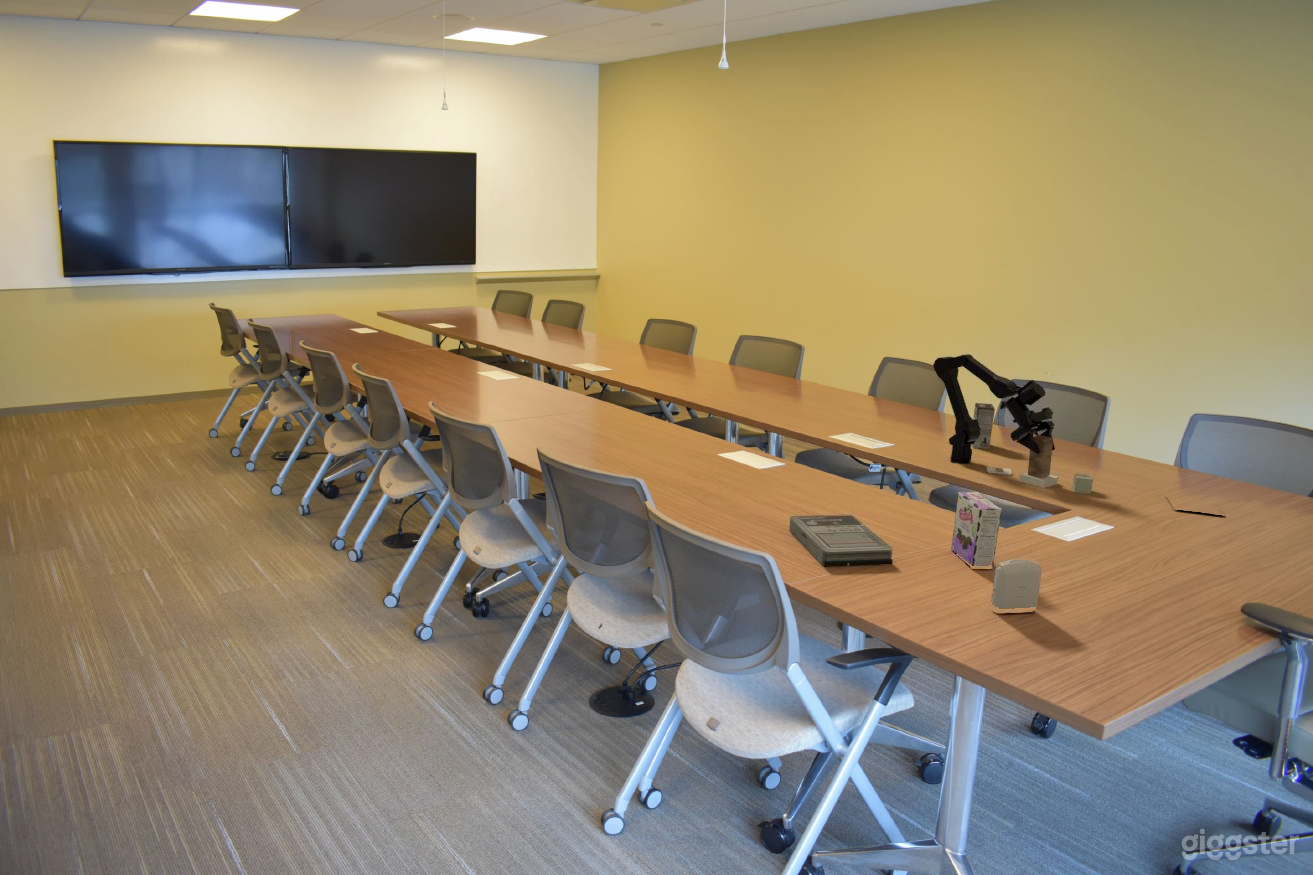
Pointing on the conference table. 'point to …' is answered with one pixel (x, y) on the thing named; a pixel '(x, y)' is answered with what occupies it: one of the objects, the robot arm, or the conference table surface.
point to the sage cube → (1082, 483)
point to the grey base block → (1038, 480)
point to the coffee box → (984, 424)
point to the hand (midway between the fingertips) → (1046, 451)
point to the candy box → (976, 529)
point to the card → (999, 470)
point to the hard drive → (840, 540)
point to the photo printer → (1016, 584)
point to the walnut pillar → (1041, 457)
